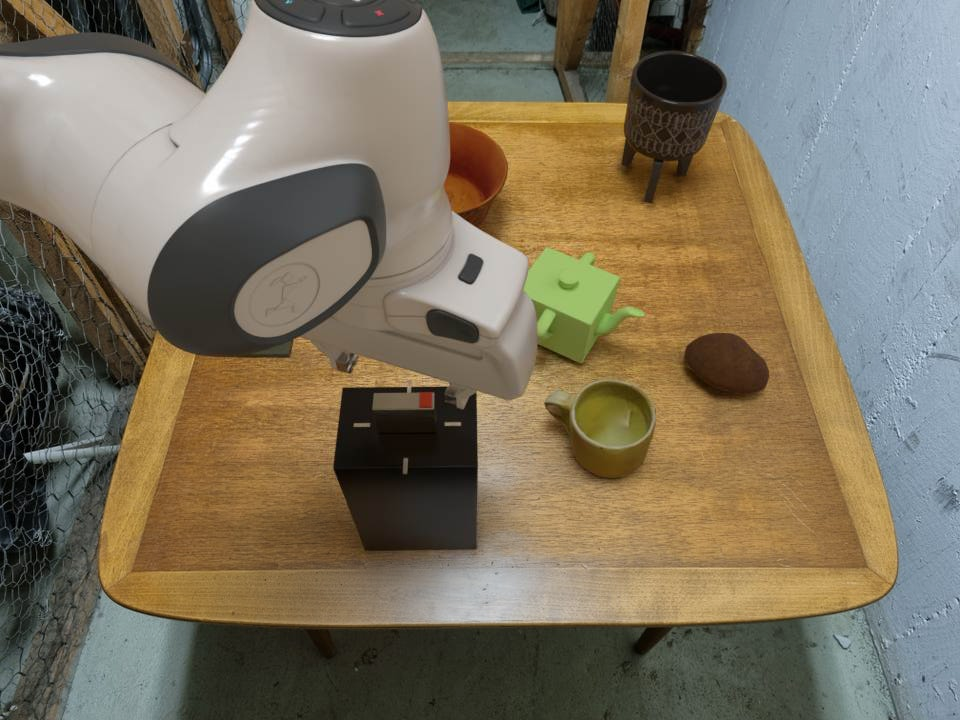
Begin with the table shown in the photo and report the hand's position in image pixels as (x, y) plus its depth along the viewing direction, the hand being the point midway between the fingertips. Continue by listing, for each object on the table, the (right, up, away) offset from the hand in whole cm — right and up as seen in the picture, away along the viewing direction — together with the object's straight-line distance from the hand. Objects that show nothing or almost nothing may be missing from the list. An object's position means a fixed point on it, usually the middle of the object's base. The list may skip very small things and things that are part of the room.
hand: (401, 382), depth 52 cm
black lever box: (0, -15, +22) cm, 27 cm away
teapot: (+17, +6, +37) cm, 41 cm away
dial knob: (0, -4, +6) cm, 7 cm away
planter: (+34, +30, +55) cm, 71 cm away
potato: (+36, -1, +33) cm, 49 cm away
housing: (-22, +6, +37) cm, 44 cm away
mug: (+19, -8, +28) cm, 35 cm away
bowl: (-1, +23, +49) cm, 55 cm away
